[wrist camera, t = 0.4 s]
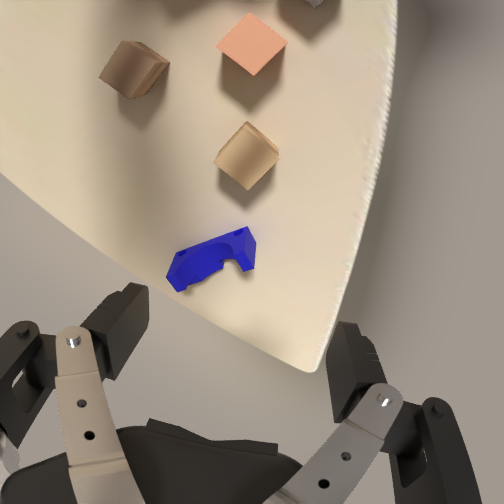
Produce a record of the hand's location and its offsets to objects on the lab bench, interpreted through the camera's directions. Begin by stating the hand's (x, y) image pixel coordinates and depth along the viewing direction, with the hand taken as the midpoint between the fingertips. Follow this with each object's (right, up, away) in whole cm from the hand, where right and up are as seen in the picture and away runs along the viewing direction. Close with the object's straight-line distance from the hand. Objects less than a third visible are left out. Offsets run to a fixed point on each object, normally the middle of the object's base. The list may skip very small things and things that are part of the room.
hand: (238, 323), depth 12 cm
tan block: (-13, +25, +17) cm, 33 cm away
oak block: (0, +16, +23) cm, 28 cm away
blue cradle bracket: (-5, +3, +33) cm, 33 cm away
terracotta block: (+1, +26, +16) cm, 30 cm away
